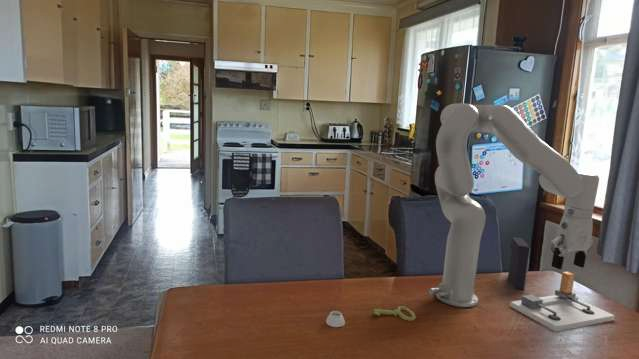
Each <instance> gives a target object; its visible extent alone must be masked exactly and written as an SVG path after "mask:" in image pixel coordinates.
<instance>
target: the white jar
mask: <svg viewBox="0 0 639 359" xmlns="http://www.w3.org/2000/svg"><path fill="white" fill-rule="evenodd" d="M345 323H346V321H345V318H344V316H343V314H342V312H341V311H338V310H332V311H331V312H330V313H329V315H328V316H327V317H326V320H325V324H326V325H328V326H329V327H332V328H340V327H344V326H345V325H346V324H345Z"/></svg>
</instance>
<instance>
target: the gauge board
mask: <svg viewBox="0 0 639 359" xmlns="http://www.w3.org/2000/svg"><path fill="white" fill-rule="evenodd" d="M575 300H577V301H579V302H581V303H584V304H586V305H588V306H590V310H587V307H585V306H582V305H580V304H578V303H576V302H574V301H572V300H565V299H563V298H560V297H558V296H556V295H555V294H554V295H546V296H539V297H537V296H536V295H535V294H526V295H521V300H514V301H510V305H509V306H510V307H511V308H512V309H514V310H515V311H517V312H520V313H522V314H523V315H525V316H527V317H529V318H531V319H532V320H534V321H536V322H537V323H538V324H541V325H543V326H545V327H547V328H548V329H550V330H552V331H554V332H560V331H565V330H571V329H576V328H580V327H585V326H586V327H587V326H592V325H596V324H602V323H606V322H607V323H608V322H611V321H615V315H614V314H612V313H610V312H609V311H606V310H603V309H602V308H599V307H597V306H594V305H593V304H590V303H588V302H586V301H584V300H582V299H579V296H577V295H576V296H575Z"/></svg>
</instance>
